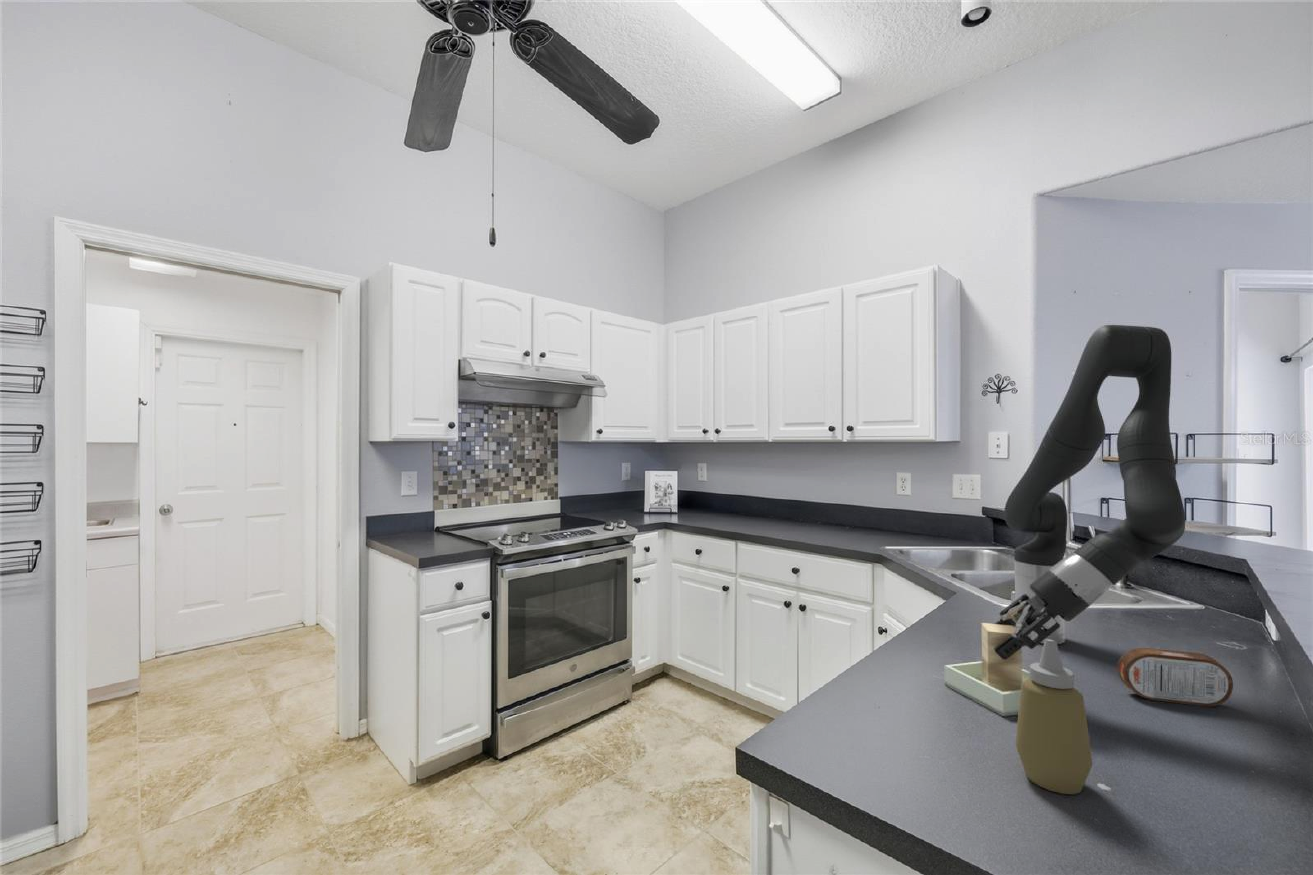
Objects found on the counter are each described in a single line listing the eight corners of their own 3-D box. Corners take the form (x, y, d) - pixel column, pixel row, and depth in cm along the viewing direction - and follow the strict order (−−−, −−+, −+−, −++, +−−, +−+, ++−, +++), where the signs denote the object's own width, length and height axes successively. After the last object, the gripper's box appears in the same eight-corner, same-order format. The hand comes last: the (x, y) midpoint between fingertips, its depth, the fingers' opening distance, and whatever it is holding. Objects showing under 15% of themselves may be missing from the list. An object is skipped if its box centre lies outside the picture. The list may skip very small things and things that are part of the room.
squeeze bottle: (1001, 765, 75) (999, 631, 75) (1057, 762, 75) (1054, 629, 76) (1048, 803, 67) (1045, 653, 67) (1110, 800, 67) (1107, 651, 68)
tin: (1225, 704, 93) (1224, 653, 93) (1237, 712, 90) (1236, 660, 90) (1116, 691, 98) (1115, 643, 98) (1125, 699, 95) (1124, 649, 95)
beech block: (988, 695, 94) (987, 631, 95) (982, 684, 99) (981, 622, 99) (1022, 700, 93) (1021, 634, 93) (1014, 688, 97) (1013, 625, 98)
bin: (944, 684, 100) (944, 665, 100) (999, 677, 103) (999, 659, 104) (1003, 716, 88) (1002, 694, 88) (1063, 707, 91) (1063, 686, 92)
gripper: (1038, 561, 101) (968, 618, 104) (1065, 578, 87) (983, 642, 91) (1074, 593, 99) (1001, 649, 102) (1107, 615, 85) (1021, 679, 89)
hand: (993, 646), depth 97 cm, fingers open, 8 cm apart
